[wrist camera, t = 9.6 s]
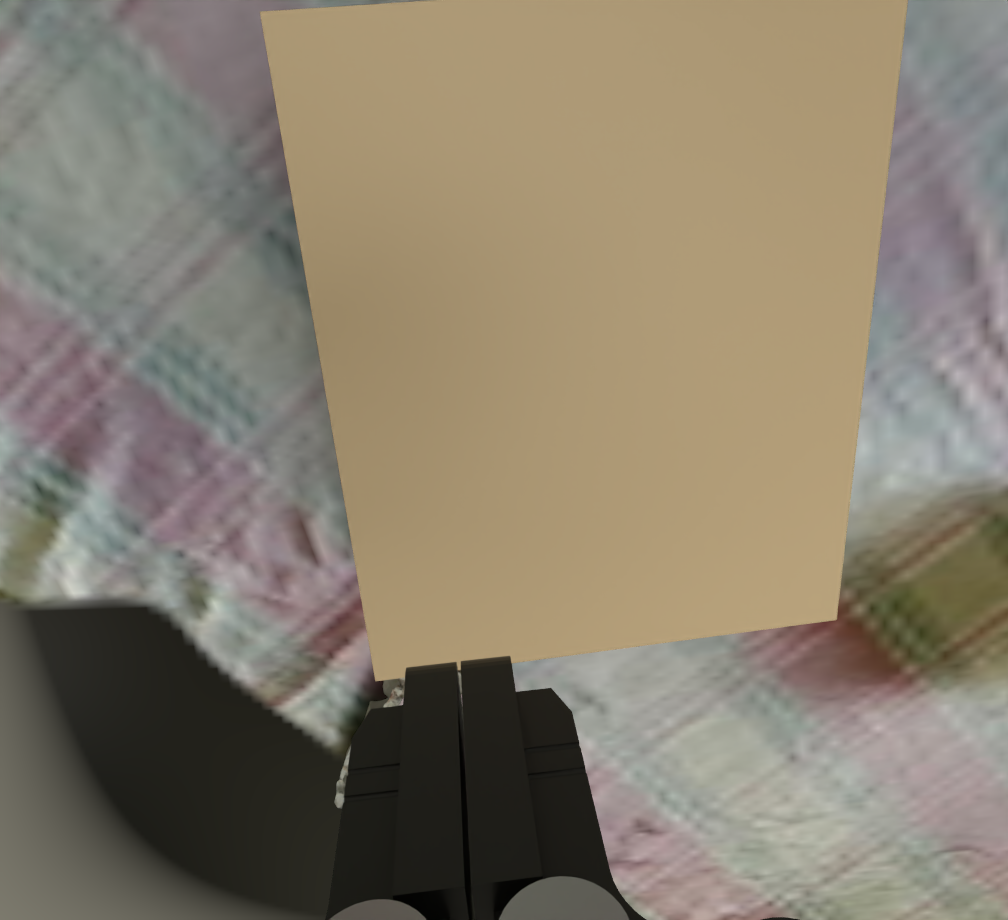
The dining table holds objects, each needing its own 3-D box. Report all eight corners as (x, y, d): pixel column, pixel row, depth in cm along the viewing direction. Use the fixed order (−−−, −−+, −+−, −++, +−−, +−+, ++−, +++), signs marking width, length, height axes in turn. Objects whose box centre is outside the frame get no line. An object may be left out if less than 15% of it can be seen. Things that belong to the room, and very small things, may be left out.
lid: (265, 16, 21) (259, 11, 20) (895, -25, 23) (911, -31, 22) (376, 668, 30) (375, 681, 29) (826, 608, 31) (836, 619, 30)
